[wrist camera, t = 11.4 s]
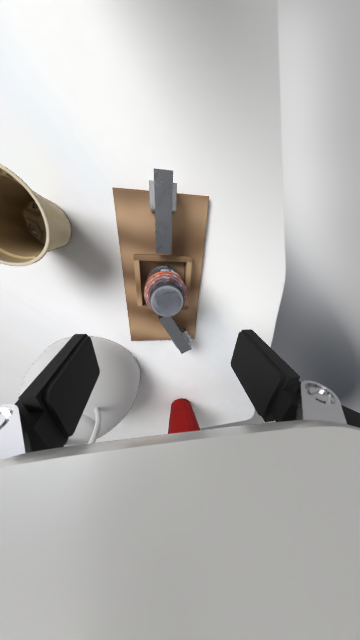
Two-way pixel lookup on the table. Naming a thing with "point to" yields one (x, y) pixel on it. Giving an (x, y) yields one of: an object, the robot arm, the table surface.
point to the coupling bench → (159, 256)
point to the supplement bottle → (165, 291)
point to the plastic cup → (182, 417)
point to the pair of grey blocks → (166, 241)
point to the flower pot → (28, 222)
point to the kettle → (98, 388)
